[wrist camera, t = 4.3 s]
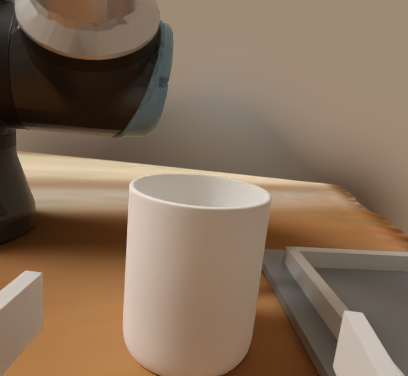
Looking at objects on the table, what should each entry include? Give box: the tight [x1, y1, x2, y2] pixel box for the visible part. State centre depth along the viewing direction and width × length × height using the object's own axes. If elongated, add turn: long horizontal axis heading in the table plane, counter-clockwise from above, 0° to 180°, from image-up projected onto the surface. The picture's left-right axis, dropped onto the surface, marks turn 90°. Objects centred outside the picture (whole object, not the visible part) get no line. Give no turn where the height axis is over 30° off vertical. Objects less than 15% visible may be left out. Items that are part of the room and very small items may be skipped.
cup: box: [123, 173, 272, 376], centre depth 25 cm, size 8×12×10 cm
